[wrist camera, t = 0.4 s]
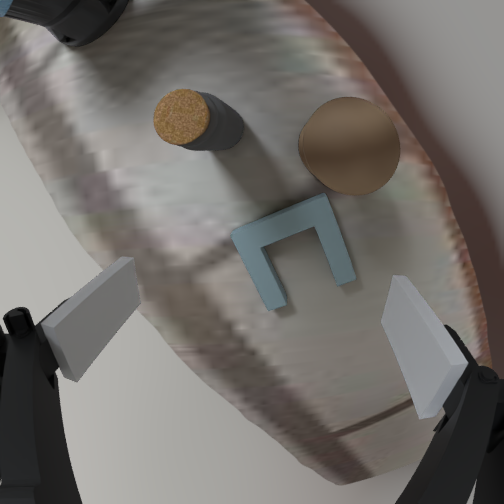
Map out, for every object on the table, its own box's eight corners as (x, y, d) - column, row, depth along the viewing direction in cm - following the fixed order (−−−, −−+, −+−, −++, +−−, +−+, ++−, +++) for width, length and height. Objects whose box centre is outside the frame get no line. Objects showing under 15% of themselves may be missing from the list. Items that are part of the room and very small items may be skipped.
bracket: (233, 230, 39) (230, 235, 36) (323, 192, 35) (326, 195, 33) (269, 302, 42) (268, 311, 40) (353, 271, 39) (356, 279, 36)
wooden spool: (286, 127, 33) (286, 117, 22) (350, 103, 31) (376, 85, 20) (315, 191, 35) (327, 210, 25) (377, 167, 33) (412, 176, 23)
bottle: (228, 158, 35) (190, 164, 21) (191, 136, 35) (135, 132, 21) (252, 120, 33) (229, 101, 19) (214, 99, 33) (169, 71, 19)
